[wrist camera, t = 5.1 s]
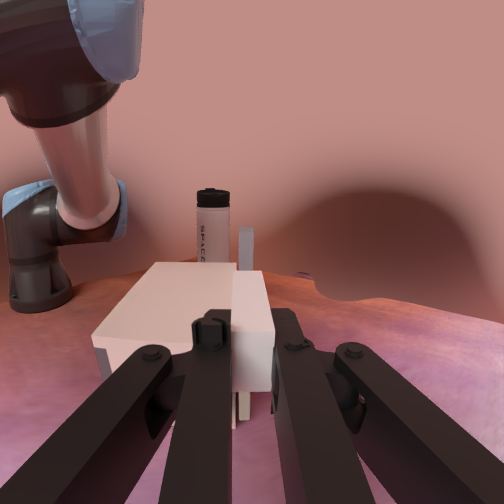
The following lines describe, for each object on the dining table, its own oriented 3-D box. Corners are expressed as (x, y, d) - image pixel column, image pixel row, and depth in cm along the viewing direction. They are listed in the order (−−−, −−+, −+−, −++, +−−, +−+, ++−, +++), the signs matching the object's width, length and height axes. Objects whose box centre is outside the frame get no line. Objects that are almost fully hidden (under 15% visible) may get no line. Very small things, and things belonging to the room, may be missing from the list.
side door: (249, 420, 25) (253, 231, 20) (239, 420, 25) (239, 231, 20) (246, 357, 36) (248, 212, 31) (238, 357, 36) (239, 212, 31)
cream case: (235, 429, 24) (233, 344, 22) (116, 418, 24) (91, 335, 21) (236, 324, 46) (236, 262, 43) (161, 321, 45) (155, 261, 43)
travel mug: (224, 282, 64) (224, 187, 59) (233, 293, 58) (234, 189, 53) (195, 285, 61) (193, 188, 57) (202, 297, 56) (200, 189, 51)
